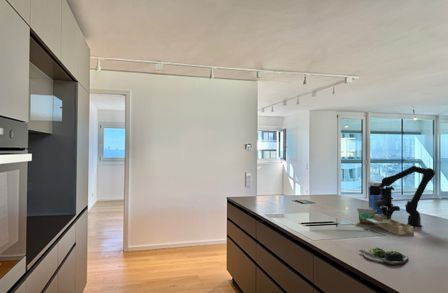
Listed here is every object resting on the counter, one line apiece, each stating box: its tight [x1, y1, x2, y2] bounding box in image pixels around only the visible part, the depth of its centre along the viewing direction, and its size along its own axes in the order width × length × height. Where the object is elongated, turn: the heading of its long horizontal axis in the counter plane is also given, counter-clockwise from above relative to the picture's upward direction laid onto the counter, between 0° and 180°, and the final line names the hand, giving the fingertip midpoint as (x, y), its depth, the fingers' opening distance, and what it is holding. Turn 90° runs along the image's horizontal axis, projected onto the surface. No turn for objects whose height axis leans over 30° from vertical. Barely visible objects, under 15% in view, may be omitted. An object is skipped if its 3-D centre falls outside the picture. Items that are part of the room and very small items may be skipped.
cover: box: [366, 214, 390, 224], centre depth 191 cm, size 10×9×4 cm
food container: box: [356, 207, 377, 226], centre depth 204 cm, size 12×6×10 cm, turn 62°
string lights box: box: [367, 180, 385, 216], centre depth 227 cm, size 13×8×26 cm, turn 171°
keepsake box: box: [376, 218, 415, 236], centre depth 187 cm, size 10×20×4 cm, turn 6°
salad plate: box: [358, 246, 409, 266], centre depth 139 cm, size 19×18×5 cm
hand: (387, 219), depth 206 cm, fingers open, 2 cm apart
